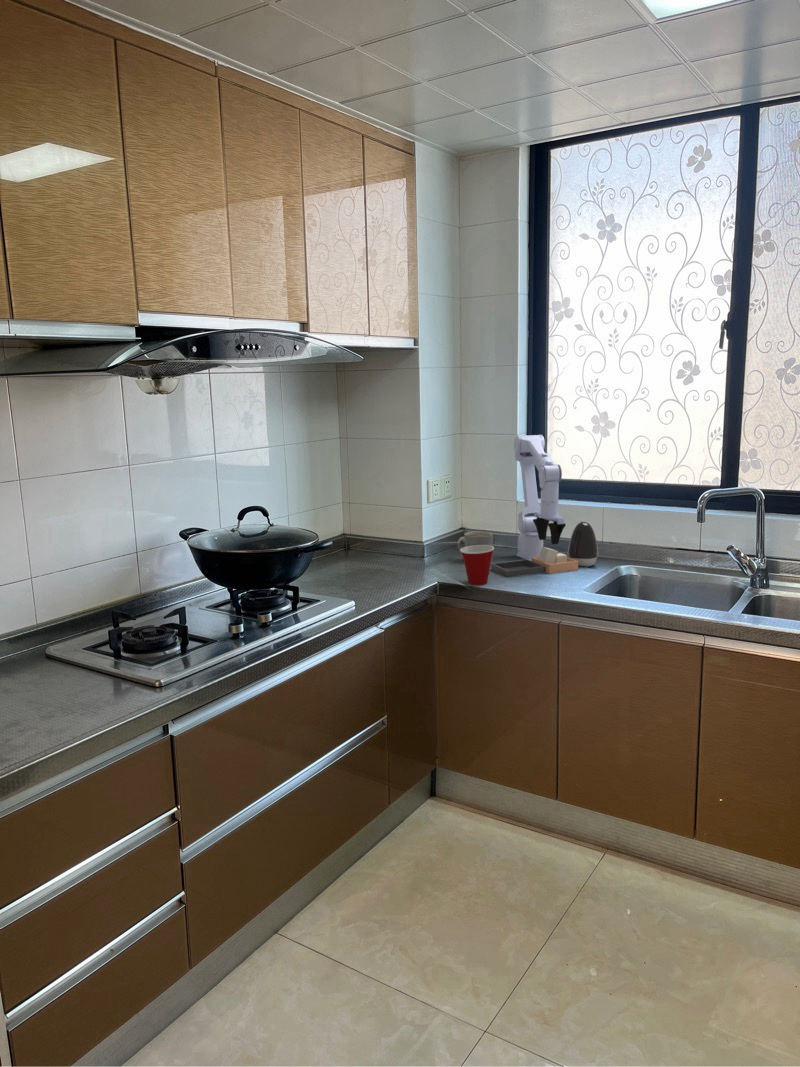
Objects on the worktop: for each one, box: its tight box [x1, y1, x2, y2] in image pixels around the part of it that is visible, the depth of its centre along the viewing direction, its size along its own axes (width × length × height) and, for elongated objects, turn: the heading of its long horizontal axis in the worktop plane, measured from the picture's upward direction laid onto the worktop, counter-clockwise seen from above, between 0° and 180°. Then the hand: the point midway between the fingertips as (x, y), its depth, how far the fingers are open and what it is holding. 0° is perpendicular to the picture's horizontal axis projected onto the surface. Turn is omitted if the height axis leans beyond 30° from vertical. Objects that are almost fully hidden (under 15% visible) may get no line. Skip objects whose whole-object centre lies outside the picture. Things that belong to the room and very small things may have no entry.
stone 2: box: [550, 552, 568, 564], centre depth 270 cm, size 4×4×4 cm
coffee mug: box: [457, 530, 494, 563], centre depth 283 cm, size 13×10×10 cm
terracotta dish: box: [530, 556, 579, 575], centre depth 270 cm, size 11×11×4 cm
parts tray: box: [490, 559, 546, 578], centre depth 267 cm, size 11×14×3 cm
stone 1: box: [538, 546, 559, 564], centre depth 268 cm, size 4×4×4 cm
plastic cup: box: [459, 545, 495, 586], centre depth 252 cm, size 11×11×12 cm
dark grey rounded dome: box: [567, 521, 599, 568], centre depth 274 cm, size 10×10×15 cm
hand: (548, 541), depth 267 cm, fingers open, 7 cm apart
